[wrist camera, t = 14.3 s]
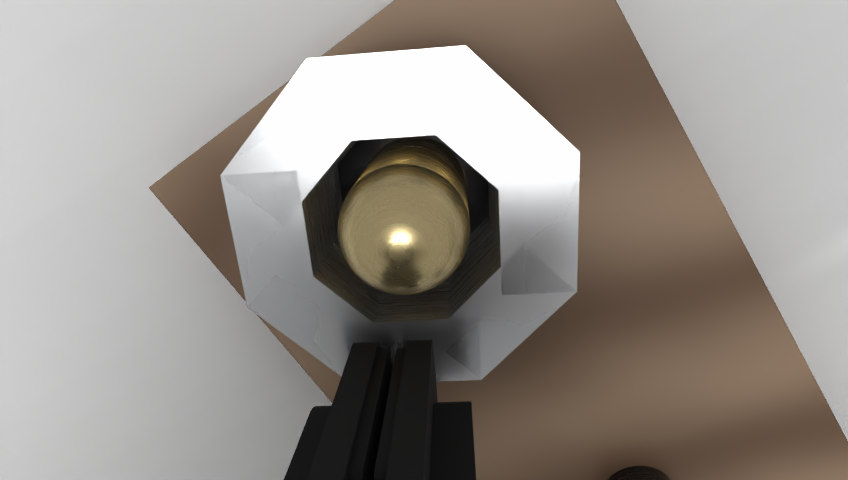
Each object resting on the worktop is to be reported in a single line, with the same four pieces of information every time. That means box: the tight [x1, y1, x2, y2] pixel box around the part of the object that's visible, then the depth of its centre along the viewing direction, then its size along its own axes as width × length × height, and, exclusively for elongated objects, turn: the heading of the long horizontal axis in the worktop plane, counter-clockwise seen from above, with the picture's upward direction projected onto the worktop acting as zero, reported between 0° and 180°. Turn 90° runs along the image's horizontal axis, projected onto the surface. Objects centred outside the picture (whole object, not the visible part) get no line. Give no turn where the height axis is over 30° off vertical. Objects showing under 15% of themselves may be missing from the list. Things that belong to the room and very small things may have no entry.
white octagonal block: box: [220, 46, 580, 382], centre depth 12 cm, size 7×7×4 cm
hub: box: [338, 135, 489, 295], centre depth 12 cm, size 6×6×6 cm
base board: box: [149, 0, 848, 480], centre depth 17 cm, size 21×13×1 cm, turn 34°
